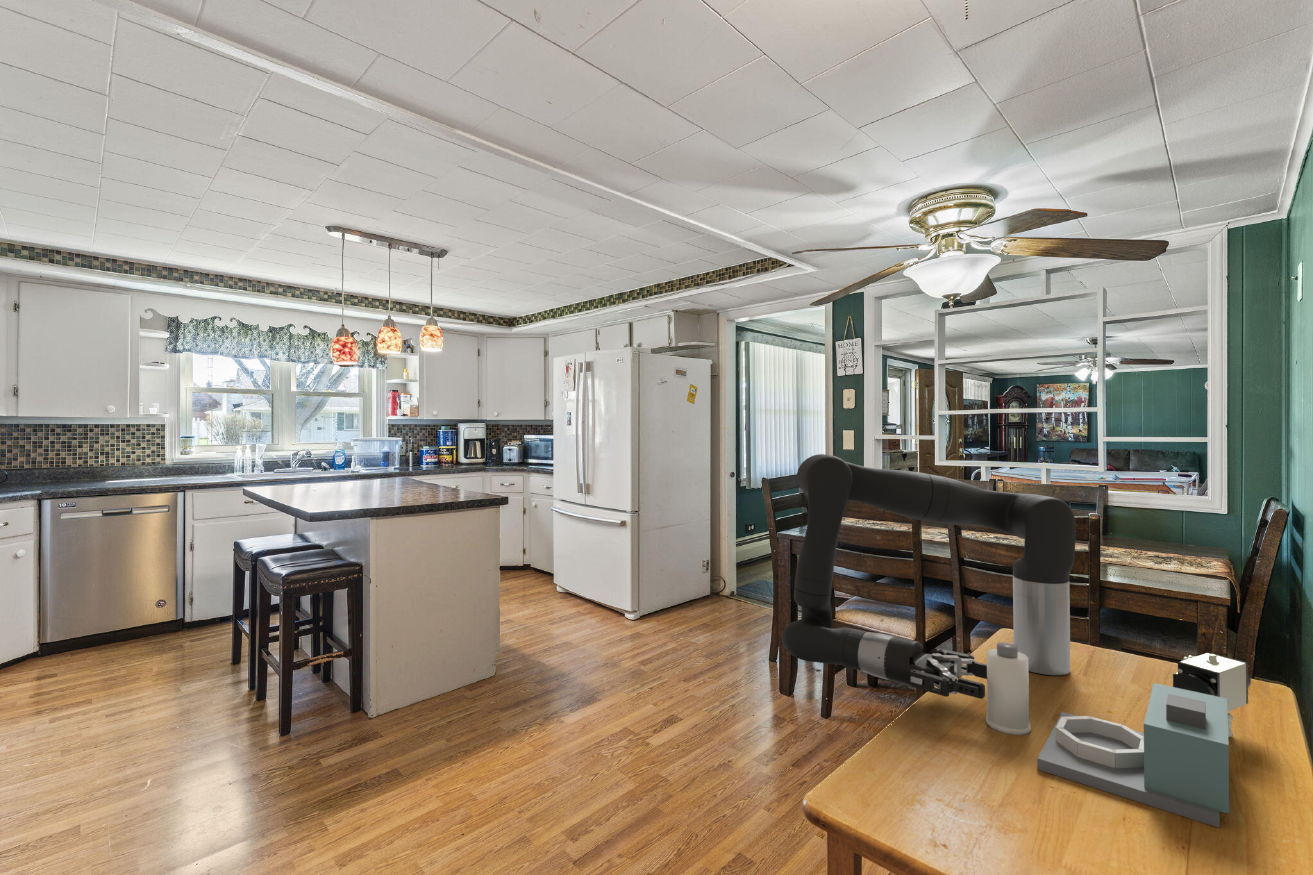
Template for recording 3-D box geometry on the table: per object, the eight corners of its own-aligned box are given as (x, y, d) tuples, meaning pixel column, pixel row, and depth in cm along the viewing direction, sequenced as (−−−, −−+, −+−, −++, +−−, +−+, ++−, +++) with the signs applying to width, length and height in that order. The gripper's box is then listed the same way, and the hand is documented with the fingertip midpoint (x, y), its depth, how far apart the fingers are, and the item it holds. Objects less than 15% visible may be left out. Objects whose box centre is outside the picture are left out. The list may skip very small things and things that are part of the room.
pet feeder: (1062, 719, 94) (1062, 647, 94) (1227, 763, 82) (1226, 679, 81) (1037, 769, 81) (1036, 684, 81) (1229, 831, 68) (1228, 730, 68)
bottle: (991, 712, 97) (991, 636, 97) (1034, 724, 93) (1033, 644, 93) (981, 726, 93) (980, 646, 93) (1025, 739, 89) (1024, 655, 89)
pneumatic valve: (1253, 733, 90) (1252, 653, 89) (1212, 751, 85) (1212, 667, 85) (1206, 717, 95) (1206, 642, 95) (1166, 733, 90) (1165, 654, 90)
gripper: (873, 647, 100) (979, 673, 89) (905, 626, 111) (1004, 647, 100) (873, 691, 100) (979, 722, 89) (906, 666, 111) (1004, 691, 100)
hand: (992, 682), depth 94 cm, fingers open, 8 cm apart
